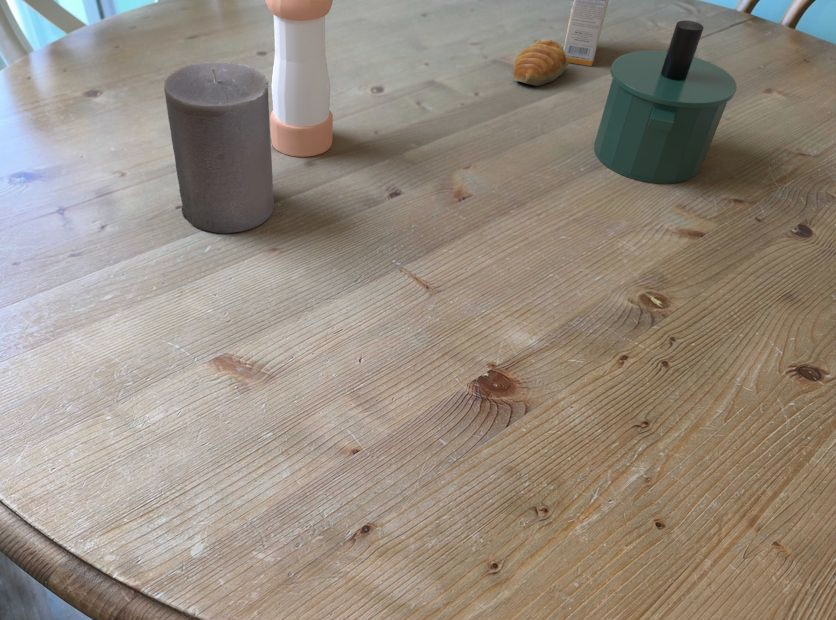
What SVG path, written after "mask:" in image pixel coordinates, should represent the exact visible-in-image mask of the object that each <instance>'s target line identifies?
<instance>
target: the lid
mask: <svg viewBox="0 0 836 620" xmlns="http://www.w3.org/2000/svg"><path fill="white" fill-rule="evenodd" d="M703 31H704V26H703V24H701V23H699V22H697V21H693V20H679V21H677V22H676V25H675V27H674V30H673V33H672V37H671V39H670V43H669V46H668V48H667V50H638V51H637V50H636V51H631V52H627V53H624V54H622V55H620V56H618V57H617V58H615V60H613V62H612V64H611V68H610V75H611V78H612V79H614V81H615V82H616V83H617V84H618V85H619V86H620V87H622V88H623V89H625V90H626V91H628V92H630V93H632V94H634V95H636V96H638V97H640V98H643V99H646V100H649V101H652V102H655V103H659V104H664V105H668V106H674V107H682V108H708V107H715V106H719V105H722V104H724V103H726V102H727V103H728V102H730V101H731V100H732V99H733V98H734V96H735V94H736V92H737V82H736V80H735V78H734V77H733V76H732V75H731V74H730V73H729V72H727V71H726V70H725V69H723V68H721V67H720V66H718V65H716V64H714V63H712V62H710V61H708V60H705V59H702V58H699V57H696V56H695V54H696V51H697V48H698V46H699V42H700V40H701V37H702V34H703Z"/></svg>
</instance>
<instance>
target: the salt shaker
mask: <svg viewBox="0 0 836 620" xmlns="http://www.w3.org/2000/svg"><path fill="white" fill-rule="evenodd" d="M333 2H334V0H265V3H266V6H267V8H268V11H269V12H270V14H272V15H273V32H274V33H273V34H274V57H273V58H274V59H273V68H272V77H271V98H272V110H271V112H270V114H269V121H270V138H271V145H272V146H273V148H274V149H275V150H276V151H278V152H279V153H282V154H284V155H287V156H291V157H299V158H305V157H315V156H318V155H322V154H324V153H325V152H328V150H330V149H331V147H332V145H333V133H334V132H333V126H334V125H333V123H334V117H333V116H334V115H333V113H332V111H331V110H330V107H331V104H330V103H331V81H330V74H329V67H328V61H327V54H326V16H327V15H328V14H329V13H330V11H331V8H332V6H333Z"/></svg>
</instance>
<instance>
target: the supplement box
mask: <svg viewBox="0 0 836 620" xmlns="http://www.w3.org/2000/svg"><path fill="white" fill-rule="evenodd" d="M609 1H610V0H573V1H572V5H571V10H570V14H569V18H568V25H567V29H566V33H565V39H564V44H563V50H564V53H565V54H566V58H567V61H568V64H575V65H576V64H577V65H582V66H589V67H592V66H593V64H594V61H595V56H596V52H597V49H598V45H599V41H600V37H601V32H602V28H603V24H604V20H605V17H606V13H607V8H608V4H609Z"/></svg>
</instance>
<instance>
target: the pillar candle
mask: <svg viewBox="0 0 836 620" xmlns="http://www.w3.org/2000/svg"><path fill="white" fill-rule="evenodd" d="M163 85H164V86H163V88H164V89H163V90H164V95H165V105H166V110H167V117H168V118H167V119H168V123H169V124H168V125H169V130H170V137H171V144H172V150H173V154H174V161H175V169H176V176H177V181H178V182H177V183H178V187H179V188H178V189H179V194H180V195H179V196H180V200H181V205H182V206H181V213H182V216H183V218H184V219H185V220H186V221H187V222H188V223H189V224H190V225H192V226H193V227H196V228H197V229H200V230H202V231H206V232H210V233H217V234H233V233H242V232H244V231H249V230H251V229H254V228H256V227H258V226H260V225H262V224H263V223H265V222H266V221H267V220H268V219H269V218H270V217H271V216H272V214H273V212H274V209H275V199H274V182H273V179H274V178H273V162H272V161H273V160H272V159H273V158H272V141H271V122H270V104H269V103H270V102H269V81H268V79H267V78H266V75H264V74H263V73H261V72H260V71H259V70H257V69H255V68H253V67H252V66H250V65H248V64H244V63H236V62H227V61H206V62H205V61H204V62H197V63H193V64H189V65H186V66H183V67H181V68H178V69H176V70H174V71H173V72H172V73H170V74H169V75H168V76H167V78H166V79H165V80H164V84H163Z"/></svg>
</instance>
